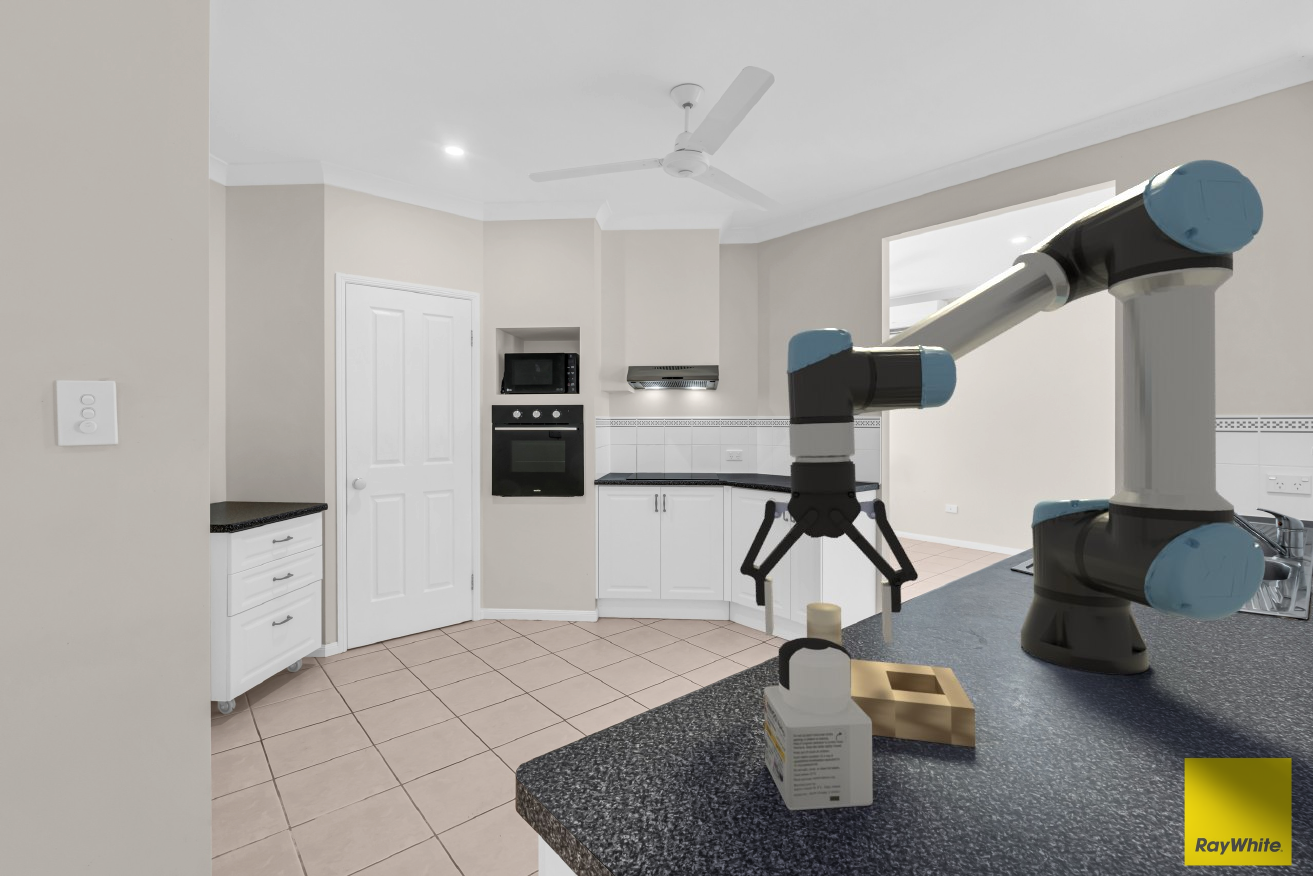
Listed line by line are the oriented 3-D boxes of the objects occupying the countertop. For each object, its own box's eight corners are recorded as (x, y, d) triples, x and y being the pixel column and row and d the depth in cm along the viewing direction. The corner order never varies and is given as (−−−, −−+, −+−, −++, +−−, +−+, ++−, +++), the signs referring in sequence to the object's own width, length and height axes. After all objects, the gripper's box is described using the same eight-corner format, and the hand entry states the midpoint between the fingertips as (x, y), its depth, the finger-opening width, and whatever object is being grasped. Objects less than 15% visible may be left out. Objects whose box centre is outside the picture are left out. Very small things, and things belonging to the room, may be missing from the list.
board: (950, 700, 70) (950, 668, 70) (975, 747, 60) (974, 708, 60) (784, 683, 76) (784, 653, 76) (779, 723, 65) (779, 688, 65)
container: (763, 762, 57) (762, 632, 57) (838, 758, 58) (837, 629, 58) (788, 812, 49) (786, 662, 50) (874, 807, 50) (872, 658, 50)
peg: (843, 717, 66) (842, 613, 66) (807, 713, 67) (806, 611, 68) (841, 701, 70) (840, 603, 70) (807, 697, 71) (806, 601, 71)
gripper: (928, 456, 69) (933, 631, 69) (724, 460, 76) (728, 620, 76) (941, 459, 62) (947, 654, 62) (714, 462, 69) (719, 639, 69)
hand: (827, 635), depth 69 cm, fingers open, 13 cm apart
